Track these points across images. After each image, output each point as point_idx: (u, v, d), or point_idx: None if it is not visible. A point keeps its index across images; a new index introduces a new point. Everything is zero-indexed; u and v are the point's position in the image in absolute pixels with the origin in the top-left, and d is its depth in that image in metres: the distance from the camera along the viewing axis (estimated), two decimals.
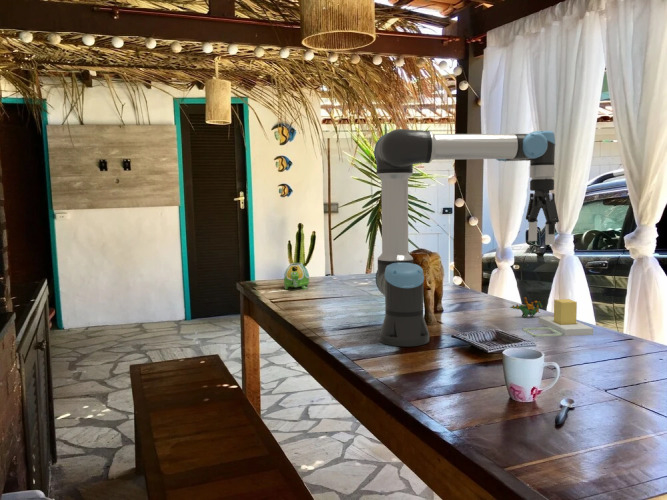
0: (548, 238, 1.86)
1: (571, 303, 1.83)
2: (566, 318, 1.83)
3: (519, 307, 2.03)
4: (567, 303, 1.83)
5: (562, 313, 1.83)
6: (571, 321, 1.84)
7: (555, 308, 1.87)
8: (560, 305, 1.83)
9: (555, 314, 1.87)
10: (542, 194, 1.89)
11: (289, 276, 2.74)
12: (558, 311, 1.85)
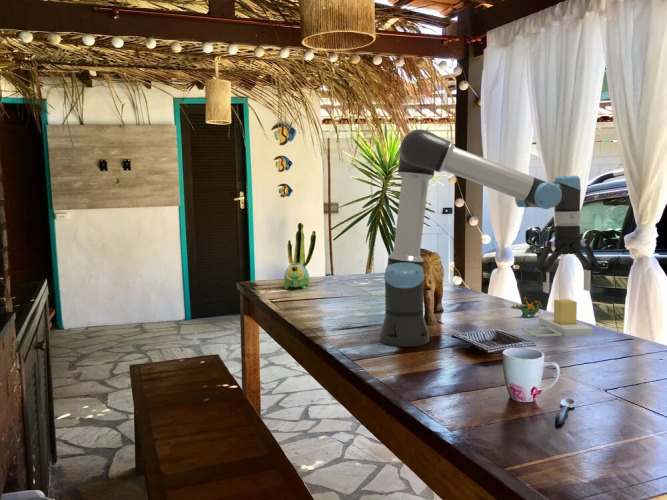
0: (543, 286, 1.85)
1: (571, 303, 1.83)
2: (566, 318, 1.83)
3: (519, 307, 2.03)
4: (567, 303, 1.83)
5: (562, 313, 1.83)
6: (571, 321, 1.84)
7: (555, 308, 1.87)
8: (560, 305, 1.83)
9: (555, 314, 1.87)
10: None
11: (289, 276, 2.74)
12: (558, 311, 1.85)
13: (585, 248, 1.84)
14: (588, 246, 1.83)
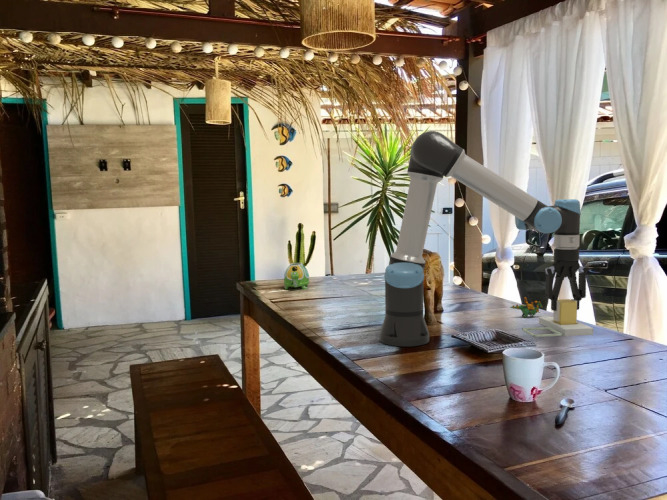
0: (554, 314, 1.86)
1: (571, 303, 1.83)
2: (566, 318, 1.83)
3: (519, 307, 2.03)
4: (567, 303, 1.83)
5: (562, 313, 1.83)
6: (571, 321, 1.84)
7: None
8: (560, 305, 1.83)
9: None
10: None
11: (289, 276, 2.74)
12: None
13: (580, 275, 1.85)
14: (584, 274, 1.84)
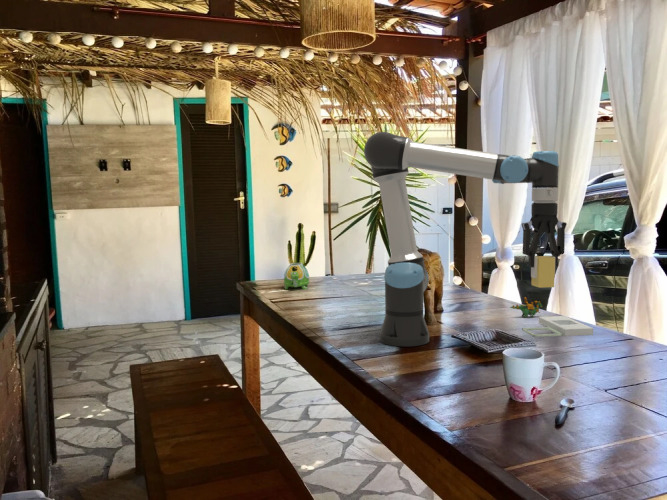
0: (531, 271, 1.80)
1: (549, 259, 1.77)
2: (543, 274, 1.77)
3: (519, 307, 2.03)
4: (545, 259, 1.77)
5: (539, 269, 1.77)
6: (549, 278, 1.77)
7: None
8: (538, 261, 1.77)
9: None
10: None
11: (289, 276, 2.74)
12: None
13: (559, 230, 1.79)
14: (563, 229, 1.78)
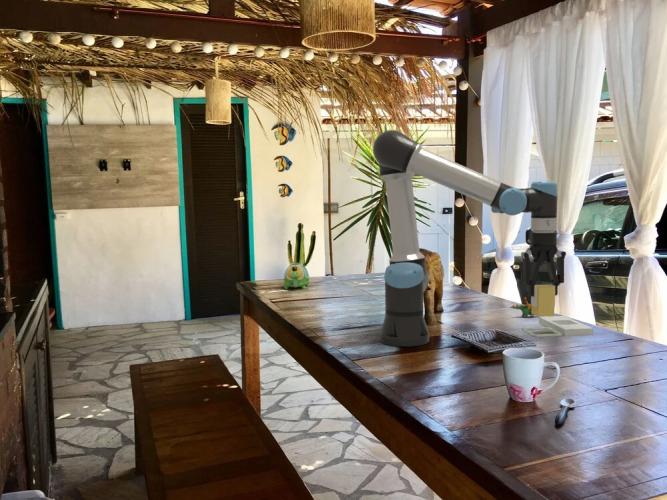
0: (531, 300, 1.81)
1: (549, 288, 1.78)
2: (543, 303, 1.78)
3: (519, 307, 2.03)
4: (545, 288, 1.77)
5: (539, 298, 1.78)
6: (549, 307, 1.78)
7: None
8: (538, 291, 1.78)
9: None
10: None
11: (289, 276, 2.74)
12: None
13: (558, 259, 1.79)
14: (562, 258, 1.78)
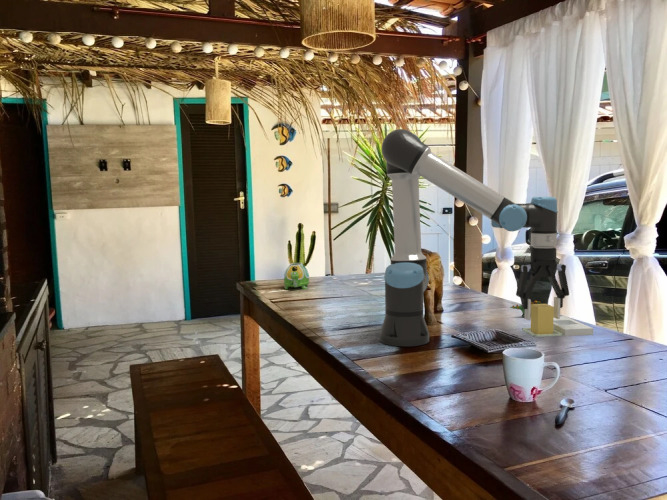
0: (525, 312, 1.81)
1: (548, 308, 1.78)
2: (542, 323, 1.79)
3: (519, 307, 2.03)
4: (544, 308, 1.78)
5: (538, 318, 1.78)
6: (548, 327, 1.79)
7: (532, 313, 1.82)
8: (537, 310, 1.78)
9: (532, 319, 1.82)
10: None
11: (289, 276, 2.74)
12: (535, 316, 1.80)
13: (560, 273, 1.80)
14: (563, 271, 1.79)
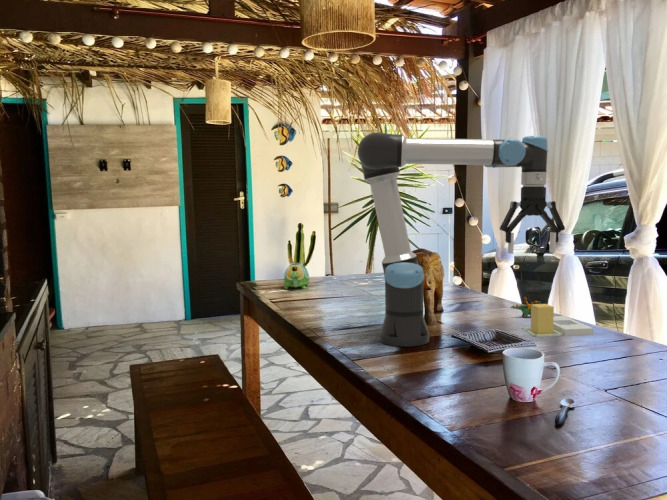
0: (508, 246, 1.85)
1: (548, 308, 1.78)
2: (542, 323, 1.79)
3: (519, 307, 2.03)
4: (544, 308, 1.78)
5: (538, 318, 1.78)
6: (548, 327, 1.79)
7: (532, 313, 1.82)
8: (537, 310, 1.78)
9: (532, 319, 1.82)
10: None
11: (289, 276, 2.74)
12: (535, 316, 1.80)
13: (551, 210, 1.84)
14: (554, 208, 1.83)
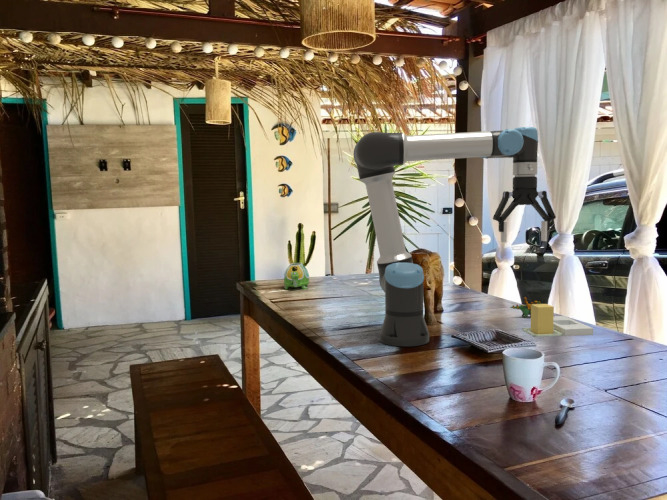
0: (501, 236, 1.89)
1: (548, 308, 1.78)
2: (542, 323, 1.79)
3: (519, 307, 2.03)
4: (544, 308, 1.78)
5: (538, 318, 1.78)
6: (548, 327, 1.79)
7: (532, 313, 1.82)
8: (537, 310, 1.78)
9: (532, 319, 1.82)
10: None
11: (289, 276, 2.74)
12: (535, 316, 1.80)
13: (542, 199, 1.89)
14: (545, 197, 1.87)
